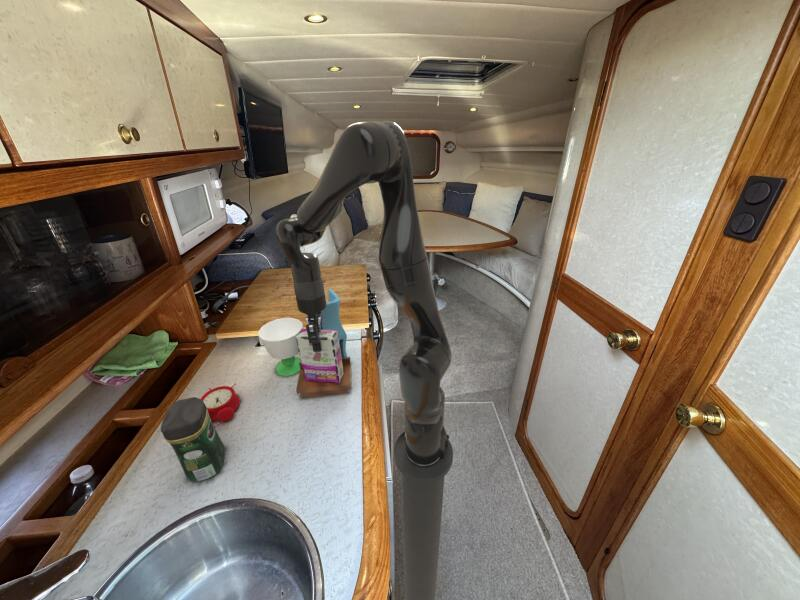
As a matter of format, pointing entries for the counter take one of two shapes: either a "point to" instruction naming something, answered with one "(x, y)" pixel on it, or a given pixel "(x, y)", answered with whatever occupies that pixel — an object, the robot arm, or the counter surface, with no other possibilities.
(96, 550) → the counter surface
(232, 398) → the alarm clock
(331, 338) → the candy bar box
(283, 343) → the cup
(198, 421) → the coffee jar
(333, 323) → the blue forked stand
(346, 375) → the wooden serving tray
